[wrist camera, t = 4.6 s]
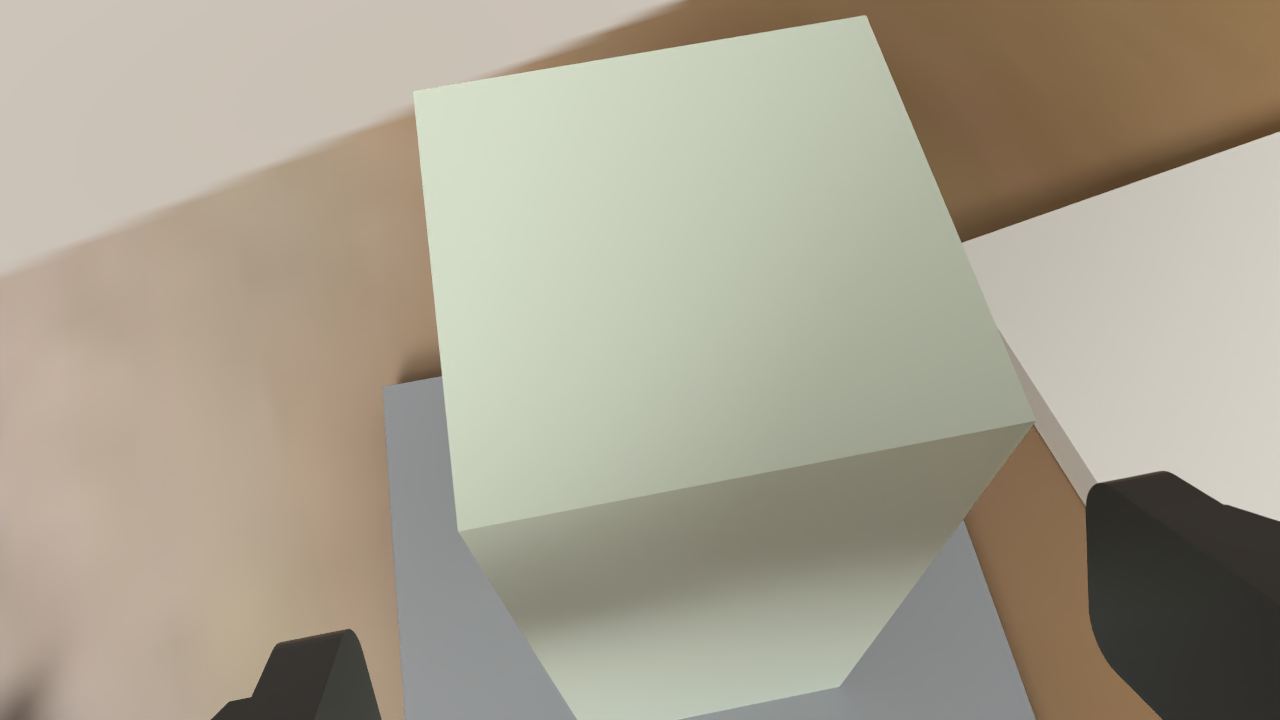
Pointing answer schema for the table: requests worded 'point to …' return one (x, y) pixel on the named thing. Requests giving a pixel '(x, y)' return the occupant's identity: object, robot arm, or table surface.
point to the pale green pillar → (705, 362)
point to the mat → (1153, 326)
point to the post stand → (539, 716)
